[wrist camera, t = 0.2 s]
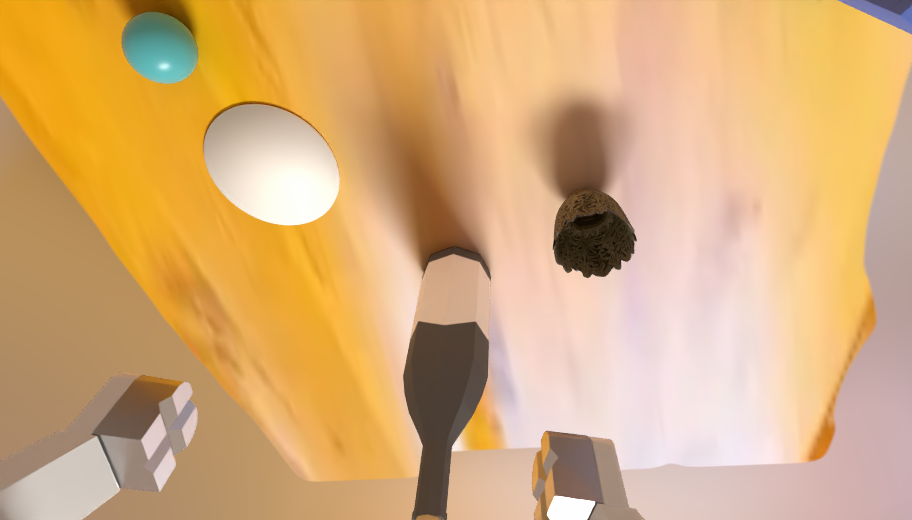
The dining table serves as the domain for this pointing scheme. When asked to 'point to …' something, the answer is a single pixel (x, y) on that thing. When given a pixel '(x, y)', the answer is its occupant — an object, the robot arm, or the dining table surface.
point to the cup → (592, 234)
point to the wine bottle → (446, 366)
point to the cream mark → (271, 164)
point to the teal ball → (159, 47)
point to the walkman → (887, 11)
